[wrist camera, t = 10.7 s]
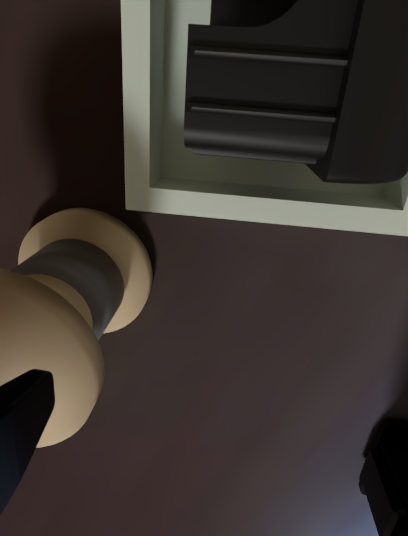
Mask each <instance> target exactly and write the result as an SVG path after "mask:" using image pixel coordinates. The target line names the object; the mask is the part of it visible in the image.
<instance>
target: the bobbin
mask: <svg viewBox="0 0 408 536" xmlns="http://www.w3.org/2000/svg"><path fill="white" fill-rule="evenodd" d="M152 281H153V270H152V264H151V260H150V257H149V254H148V252H147V250H146V248H145V246H144V244H143V243H142V241H141V240H140V238H139V237H138V236H137V235H136V234H135V232H134V231H133V230H131V229H130V228H129V227H128V226H127V225H126V224H125V223H123V222H122V221H120V220H119V219H117V218H115V217H114V216H112V215H110V214H107V213H105V212H102V211H99V210H95V209H89V208H70V209H65V210H62V211H59V212H57V213H54V214H52V215H51V216H49V217H47V218H45V219H44V220H42V221H40V222H39V223H37V224H36V225H35V226H34V227H33V228H31V230H30V231H29V232H28V233H27V235H26V236H25V238H24V240H23V242H22V245H21V247H20V252H19V259H18V266H16V267H15V268H14V269H12V270H11V271H9V270H4V269H0V386H1V385H3V384H5V383H6V382H8V381H10V380H12V379H14V378H16V377H18V376H20V375H21V374H23V373H25V372H27V371H29V370H31V369H40V370H46V371H50V372H51V373H52V374H53V379H54V391H55V405H54V409H53V412H52V414H51V416H50V418H49V420H48V423H47V425H46V427H45V429H44V431H43V433H42V436H41V438H40V440H39V442H38V444H37V447H36V448H38V447H45V446H49V445H53V444H56V443H58V442H61V441H63V440H65V439H67V438H69V437H71V436H72V435H73V434H74V433H76V432H77V431H78V430H79V429H80V428H81V427H82V426H83V425H84V423H85V422H86V420H87V418H88V417H89V415H90V413H91V411H92V409H93V407H94V405H95V403H96V401H97V399H98V397H99V395H100V392H101V390H102V387H103V382H104V377H105V365H104V358H103V354H102V351H101V347H100V345H99V342H98V341H99V339H100V337H101V336H102V334H103V333H108V332H112V331H116V330H118V329H120V328H123V327H125V326H126V325H128V324H129V323H130V322H132V321H133V320H134V319H135V318H136V317H137V316H138V314H139V313H140V312H141V310H142V308H143V307H144V305H145V303H146V301H147V299H148V296H149V294H150V291H151V287H152Z"/></svg>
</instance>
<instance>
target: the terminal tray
mask: <svg viewBox="0 0 408 536" xmlns="http://www.w3.org/2000/svg"><path fill="white" fill-rule="evenodd" d="M210 14H211V0H121V31H122V74H123V116H124V159H125V202H126V210H135V211H146V212H157V213H167V214H178V215H188V216H199V217H210V218H220V219H231V220H241V221H252V222H263V223H273V224H284V225H294V226H305V227H316V228H326V229H337V230H347V231H358V232H369V233H379V234H390V235H400V236H408V172H407V174H406V175H405V176H404V177H403V178H402V179H400V180H398V181H394V182H390V183H382V184H343V183H329V182H323V181H322V180H321V179H320V178H319V177H318V176H317V175H316V174H315V173H314V172H313V171H312V170H311V169H309V168H308V167H307V166H306V165H305V164H303V163H291V162H279V161H268V160H256V159H244V158H233V157H221V156H209V155H198V154H195V153H194V152H193V151H192V150H191V148H185V145H184V112H185V89H186V65H187V42H188V24H201V25H210Z"/></svg>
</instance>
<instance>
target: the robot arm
mask: <svg viewBox="0 0 408 536" xmlns="http://www.w3.org/2000/svg"><path fill="white" fill-rule="evenodd" d="M54 405H55V391H54V379H53V374H52V373H51V372H50V371H46V370H40V369H31V370H29V371H27V372H25V373H23V374H21V375H20V376H18V377H16V378H14V379H12V380H10V381H8V382H6V383H5V384H3V385H1V386H0V515H1V514H2V512H3V510H4V508H5V507H6V505H7V503H8V502H9V500H10V498H11V496H12V495H13V493H14V491H15V489H16V488H17V486H18V484H19V482H20V480H21V478H22V476H23V474H24V472H25V470H26V468H27V466H28V464H29V462H30V460H31V457H32V455H33V453H34V451H35V449H36V447H37V444H38V442H39V440H40V438H41V436H42V433H43V431H44V429H45V427H46V425H47V423H48V420H49V418H50V416H51V414H52V412H53V409H54ZM390 427H391V428H390ZM360 477H361V479H360V482H359V488H360V491H361V493H362V494H364V495H366V496H367V499H368V502H369V505H370V509H371V512H372V515H373V518H374V521H375V524H376V528H377V531H378V534H379V536H408V421H405V420H397V419H386V420H384V421H383V422H382V423H381V425H380V428H379V430H378V433H377V436H376V439H375V441H374V444H373V447H372V448H371V449H370V450H369V452H368V455H367V458H366V460H365V463H364V466H363V468H362V471H361V474H360Z"/></svg>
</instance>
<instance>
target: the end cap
mask: <svg viewBox="0 0 408 536" xmlns="http://www.w3.org/2000/svg"><path fill="white" fill-rule="evenodd" d="M184 145H185V148H191V150H192V151H193V152H194V153H195V154H198V155H209V156H221V157H233V158H244V159H256V160H268V161H279V162H291V163H303V164H305V165H306V166H307V167H308V168H309V169H311V170H312V171H313V172H314V173H315V174H316V175H317V176H318V177H319V178H320V179H321V180H322V181H323V182H329V183H343V184H382V183H390V182H394V181H398V180H400V179H402V178H403V177H404V176H405V175H406V174H407V172H408V0H211V14H210V25H201V24H188V42H187V65H186V89H185V112H184Z"/></svg>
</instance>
